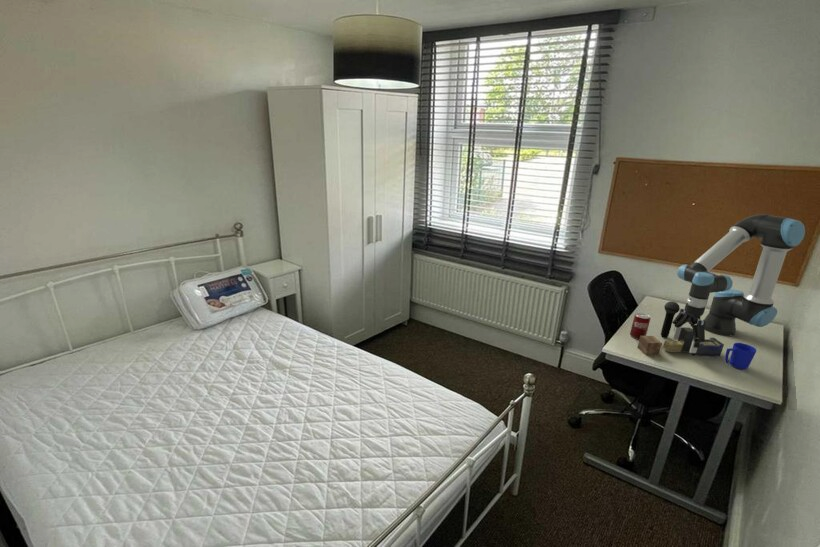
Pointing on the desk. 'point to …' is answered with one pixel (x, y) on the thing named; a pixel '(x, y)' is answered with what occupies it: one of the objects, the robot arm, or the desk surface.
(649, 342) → the socket
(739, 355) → the mug
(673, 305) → the microphone
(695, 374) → the desk surface
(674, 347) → the hammer
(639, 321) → the soda can
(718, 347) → the sleeve
